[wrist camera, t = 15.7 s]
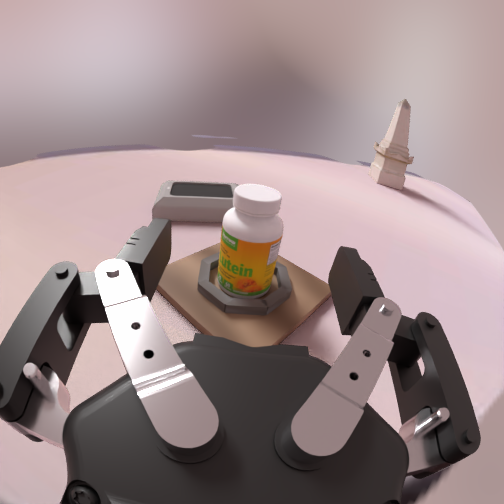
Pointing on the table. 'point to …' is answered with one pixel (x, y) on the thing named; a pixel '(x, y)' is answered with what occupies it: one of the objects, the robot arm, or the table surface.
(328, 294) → the carrier plate
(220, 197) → the grey flat boxy piece
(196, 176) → the table surface
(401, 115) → the miniature monument
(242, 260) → the supplement bottle
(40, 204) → the table surface
